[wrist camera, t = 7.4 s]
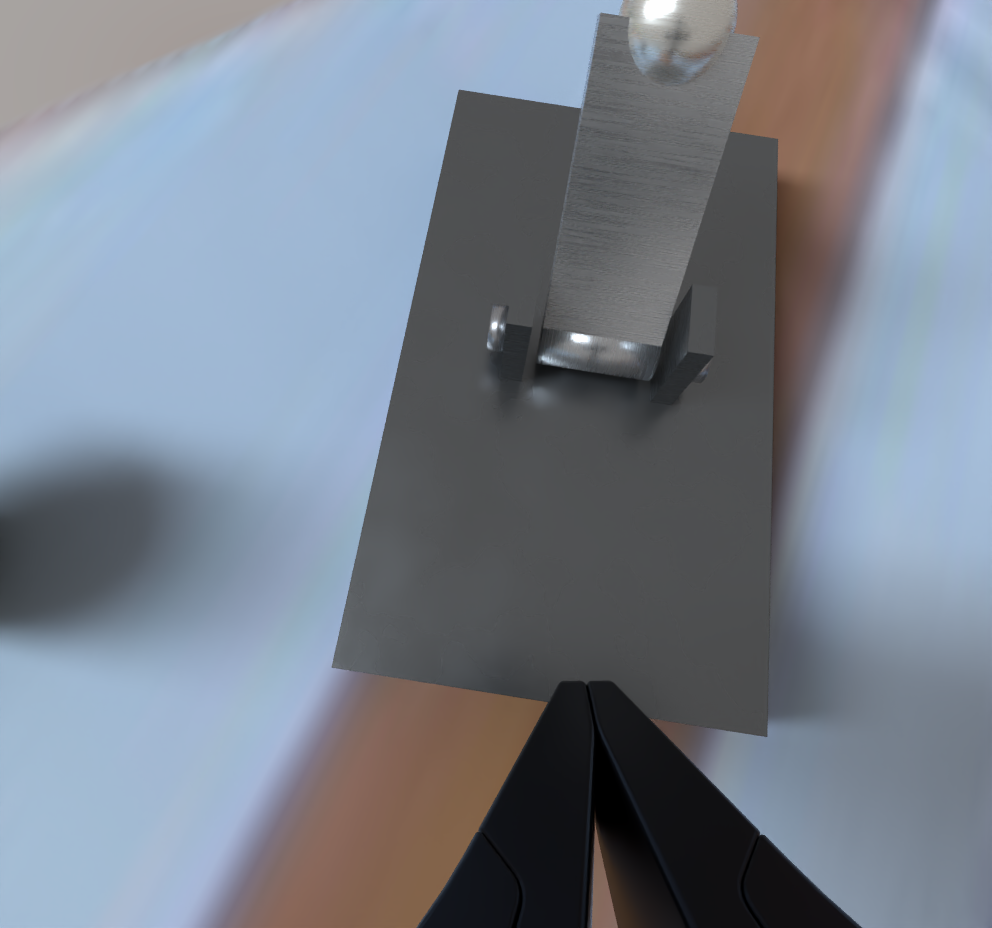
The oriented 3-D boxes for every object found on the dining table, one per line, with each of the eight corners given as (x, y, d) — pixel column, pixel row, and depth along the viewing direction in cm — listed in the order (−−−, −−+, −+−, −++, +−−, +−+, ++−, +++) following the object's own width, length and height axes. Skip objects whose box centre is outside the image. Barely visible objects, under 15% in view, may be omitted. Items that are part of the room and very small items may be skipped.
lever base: (727, 723, 21) (844, 764, 15) (350, 663, 21) (295, 675, 15) (746, 189, 28) (832, 50, 21) (460, 145, 28) (456, -8, 22)
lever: (650, 398, 20) (793, -46, 13) (534, 380, 20) (617, -73, 13) (641, 359, 22) (758, -33, 15) (537, 343, 22) (609, -55, 16)
